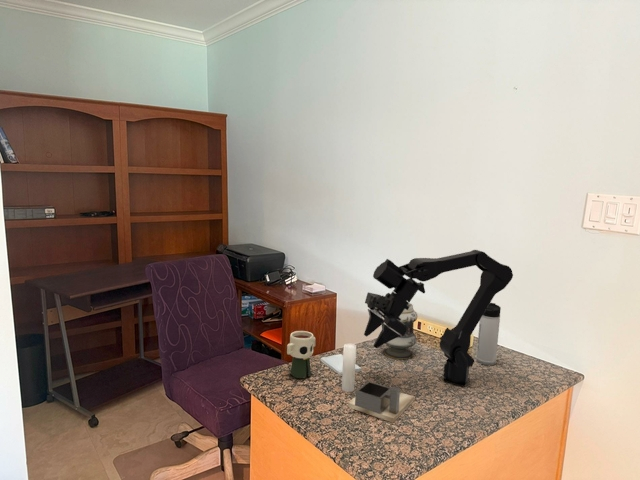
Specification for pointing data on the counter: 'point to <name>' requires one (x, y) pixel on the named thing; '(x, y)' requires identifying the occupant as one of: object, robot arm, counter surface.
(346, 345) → the white tall cylinder
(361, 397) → the cup bracket
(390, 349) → the apothecary jar
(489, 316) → the travel mug
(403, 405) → the mounting board
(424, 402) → the counter surface
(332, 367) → the hard drive
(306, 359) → the character mug
